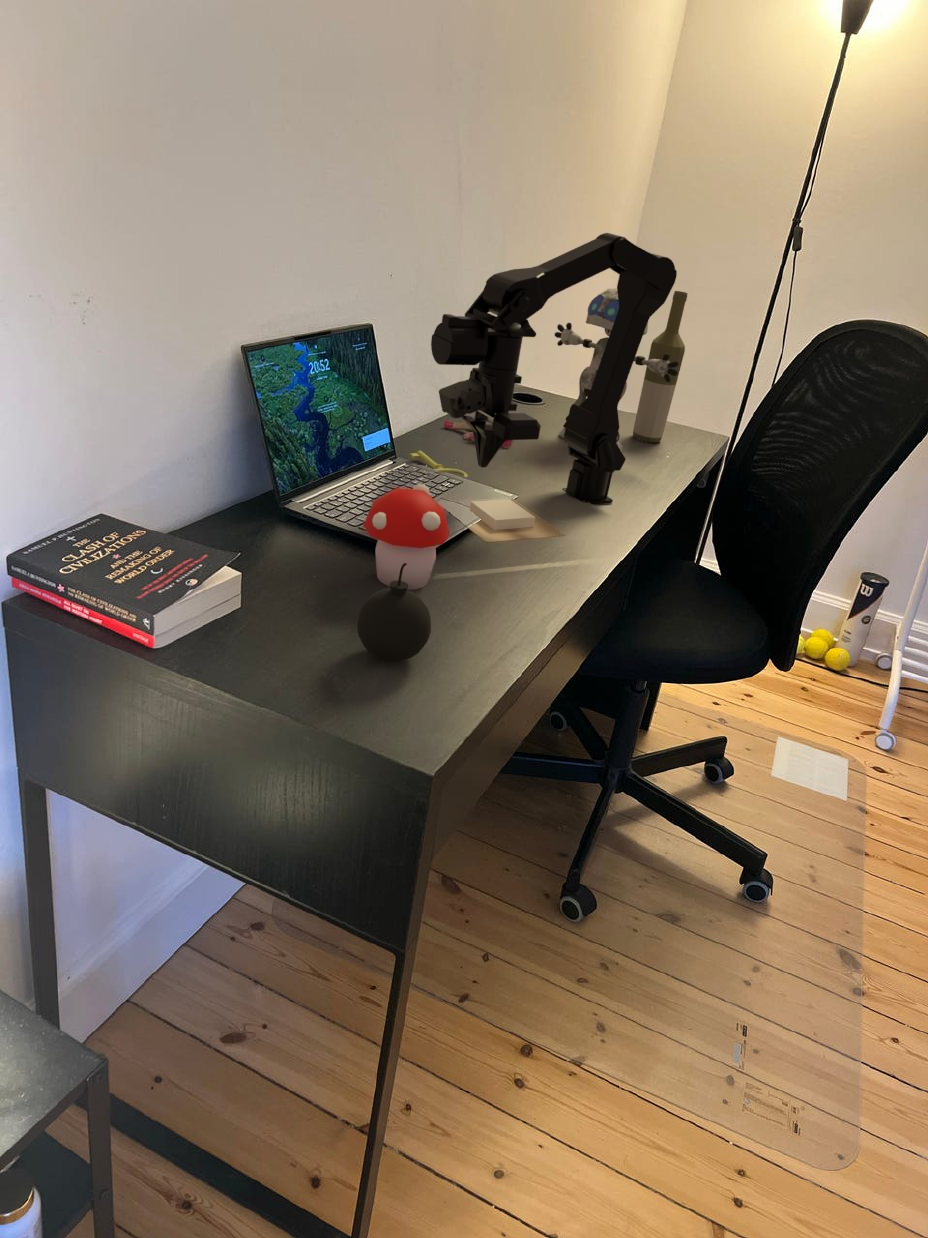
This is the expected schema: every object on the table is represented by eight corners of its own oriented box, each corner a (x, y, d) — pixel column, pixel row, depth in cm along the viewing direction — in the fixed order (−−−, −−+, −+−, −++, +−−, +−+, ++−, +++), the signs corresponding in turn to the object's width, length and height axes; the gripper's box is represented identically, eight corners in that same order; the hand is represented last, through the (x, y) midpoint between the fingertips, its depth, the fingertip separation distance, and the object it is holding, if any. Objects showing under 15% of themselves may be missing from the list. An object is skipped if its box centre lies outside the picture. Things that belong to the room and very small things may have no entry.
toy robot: (517, 423, 197) (543, 272, 184) (556, 418, 205) (583, 273, 191) (633, 471, 178) (671, 307, 165) (670, 465, 186) (710, 307, 172)
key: (417, 460, 167) (419, 449, 166) (472, 482, 161) (474, 470, 160) (390, 467, 162) (391, 455, 161) (445, 490, 155) (447, 477, 154)
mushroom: (411, 605, 115) (423, 512, 110) (340, 575, 120) (348, 485, 114) (458, 580, 123) (471, 493, 118) (390, 553, 128) (400, 468, 123)
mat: (509, 500, 154) (509, 496, 154) (565, 538, 142) (565, 535, 142) (433, 504, 147) (434, 500, 147) (485, 545, 135) (486, 542, 135)
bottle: (623, 434, 201) (656, 287, 188) (647, 433, 205) (681, 289, 191) (645, 445, 196) (680, 294, 183) (669, 443, 200) (706, 296, 186)
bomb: (349, 638, 105) (359, 539, 100) (419, 639, 108) (432, 542, 102) (358, 675, 99) (369, 570, 93) (432, 675, 101) (447, 573, 95)
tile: (509, 499, 148) (535, 517, 142) (507, 508, 148) (533, 527, 143) (470, 501, 144) (495, 520, 139) (469, 511, 145) (494, 530, 139)
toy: (441, 444, 187) (513, 458, 182) (433, 433, 181) (507, 447, 177) (451, 410, 188) (523, 423, 183) (444, 397, 182) (518, 410, 178)
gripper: (420, 348, 142) (408, 448, 149) (484, 382, 129) (468, 490, 136) (483, 350, 148) (469, 446, 155) (551, 382, 134) (531, 487, 141)
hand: (482, 466), depth 147 cm, fingers closed
